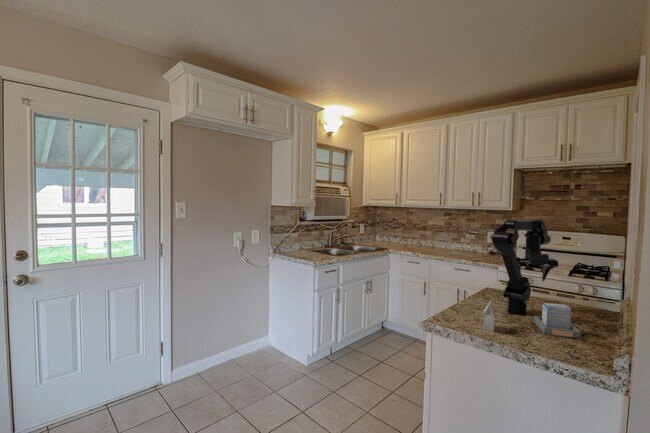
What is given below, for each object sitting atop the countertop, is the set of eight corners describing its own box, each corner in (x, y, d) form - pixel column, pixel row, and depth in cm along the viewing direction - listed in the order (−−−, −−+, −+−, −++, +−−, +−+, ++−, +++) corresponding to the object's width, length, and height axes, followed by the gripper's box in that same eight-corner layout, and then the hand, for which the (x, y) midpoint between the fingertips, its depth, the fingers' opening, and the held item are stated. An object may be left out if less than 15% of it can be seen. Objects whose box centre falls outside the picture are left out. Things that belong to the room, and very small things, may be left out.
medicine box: (565, 326, 121) (566, 304, 121) (570, 331, 117) (571, 308, 117) (541, 324, 123) (542, 302, 123) (545, 328, 119) (546, 306, 119)
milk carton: (482, 330, 119) (483, 304, 119) (483, 324, 125) (484, 299, 124) (493, 332, 117) (494, 305, 117) (494, 326, 123) (495, 301, 123)
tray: (544, 334, 116) (544, 328, 115) (533, 321, 128) (534, 315, 128) (580, 339, 112) (581, 332, 112) (566, 325, 124) (566, 319, 124)
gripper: (513, 247, 140) (512, 282, 141) (563, 249, 134) (562, 286, 134) (508, 244, 150) (507, 276, 151) (554, 246, 144) (553, 280, 145)
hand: (531, 279), depth 145 cm, fingers open, 9 cm apart
